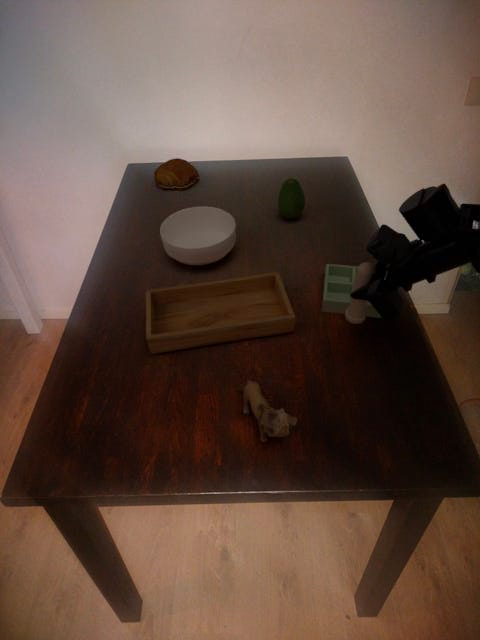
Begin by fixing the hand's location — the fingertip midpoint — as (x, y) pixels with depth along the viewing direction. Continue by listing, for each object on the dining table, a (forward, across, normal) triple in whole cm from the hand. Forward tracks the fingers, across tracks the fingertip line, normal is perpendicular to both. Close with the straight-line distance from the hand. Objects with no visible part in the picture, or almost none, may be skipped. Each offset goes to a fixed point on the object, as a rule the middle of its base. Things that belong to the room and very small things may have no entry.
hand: (353, 290), depth 73 cm
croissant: (+60, -46, -42) cm, 86 cm away
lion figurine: (+14, +26, +4) cm, 30 cm away
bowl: (+40, -13, -22) cm, 47 cm away
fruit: (+28, -39, -10) cm, 49 cm away
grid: (+10, -13, +8) cm, 18 cm away
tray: (+28, +7, -10) cm, 30 cm away
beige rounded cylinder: (+4, 0, +6) cm, 7 cm away
